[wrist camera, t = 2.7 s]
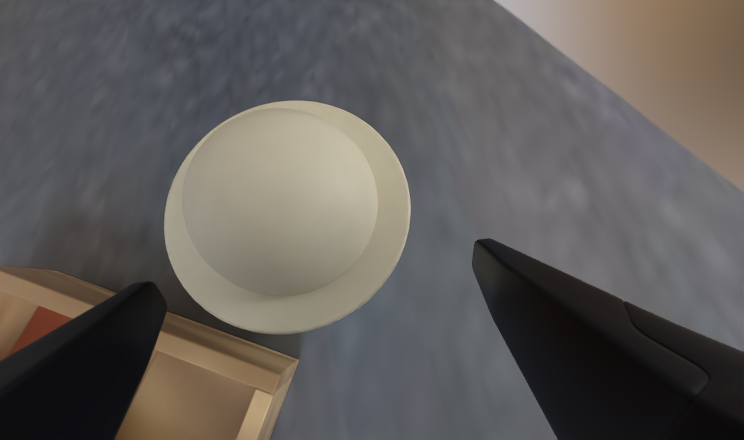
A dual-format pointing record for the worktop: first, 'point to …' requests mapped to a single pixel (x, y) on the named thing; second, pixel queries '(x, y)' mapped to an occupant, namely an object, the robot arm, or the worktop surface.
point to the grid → (161, 364)
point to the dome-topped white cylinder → (287, 217)
